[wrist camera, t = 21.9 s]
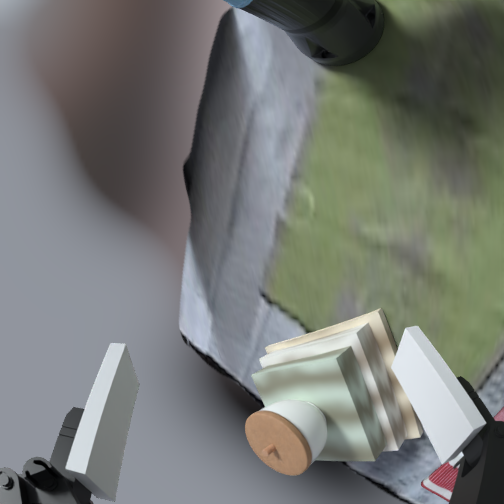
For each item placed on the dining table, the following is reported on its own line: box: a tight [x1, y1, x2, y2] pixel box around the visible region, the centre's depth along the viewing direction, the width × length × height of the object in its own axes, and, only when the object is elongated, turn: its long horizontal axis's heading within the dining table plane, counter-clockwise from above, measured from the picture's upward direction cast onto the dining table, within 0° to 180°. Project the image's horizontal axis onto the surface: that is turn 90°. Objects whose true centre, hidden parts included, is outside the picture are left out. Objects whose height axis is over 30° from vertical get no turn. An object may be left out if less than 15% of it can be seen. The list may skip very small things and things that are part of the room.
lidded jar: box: [245, 399, 328, 475], centre depth 35 cm, size 11×11×9 cm
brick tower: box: [251, 308, 423, 461], centre depth 42 cm, size 22×24×10 cm
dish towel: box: [421, 407, 504, 502], centre depth 24 cm, size 17×24×3 cm
